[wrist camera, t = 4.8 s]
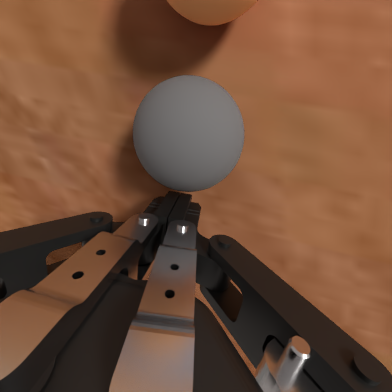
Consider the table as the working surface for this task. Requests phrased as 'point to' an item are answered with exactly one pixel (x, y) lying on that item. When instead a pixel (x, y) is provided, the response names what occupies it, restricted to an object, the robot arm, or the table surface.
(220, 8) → the object ball
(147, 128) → the grey ball
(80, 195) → the table surface
